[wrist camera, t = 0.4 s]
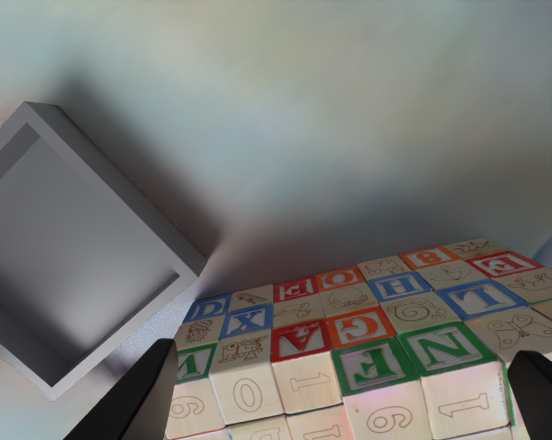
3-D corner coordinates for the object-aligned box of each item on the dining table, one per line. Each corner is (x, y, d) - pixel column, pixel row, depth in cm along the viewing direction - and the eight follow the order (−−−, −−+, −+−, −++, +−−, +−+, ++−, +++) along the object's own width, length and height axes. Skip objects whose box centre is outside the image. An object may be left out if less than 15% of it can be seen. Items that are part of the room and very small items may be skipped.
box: (77, 373, 27) (53, 401, 24) (-72, 242, 25) (-119, 256, 22) (207, 261, 25) (198, 277, 22) (57, 105, 23) (24, 101, 20)
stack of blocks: (215, 372, 27) (165, 556, 15) (191, 299, 26) (116, 439, 14) (494, 313, 26) (679, 464, 14) (485, 233, 25) (681, 325, 13)
